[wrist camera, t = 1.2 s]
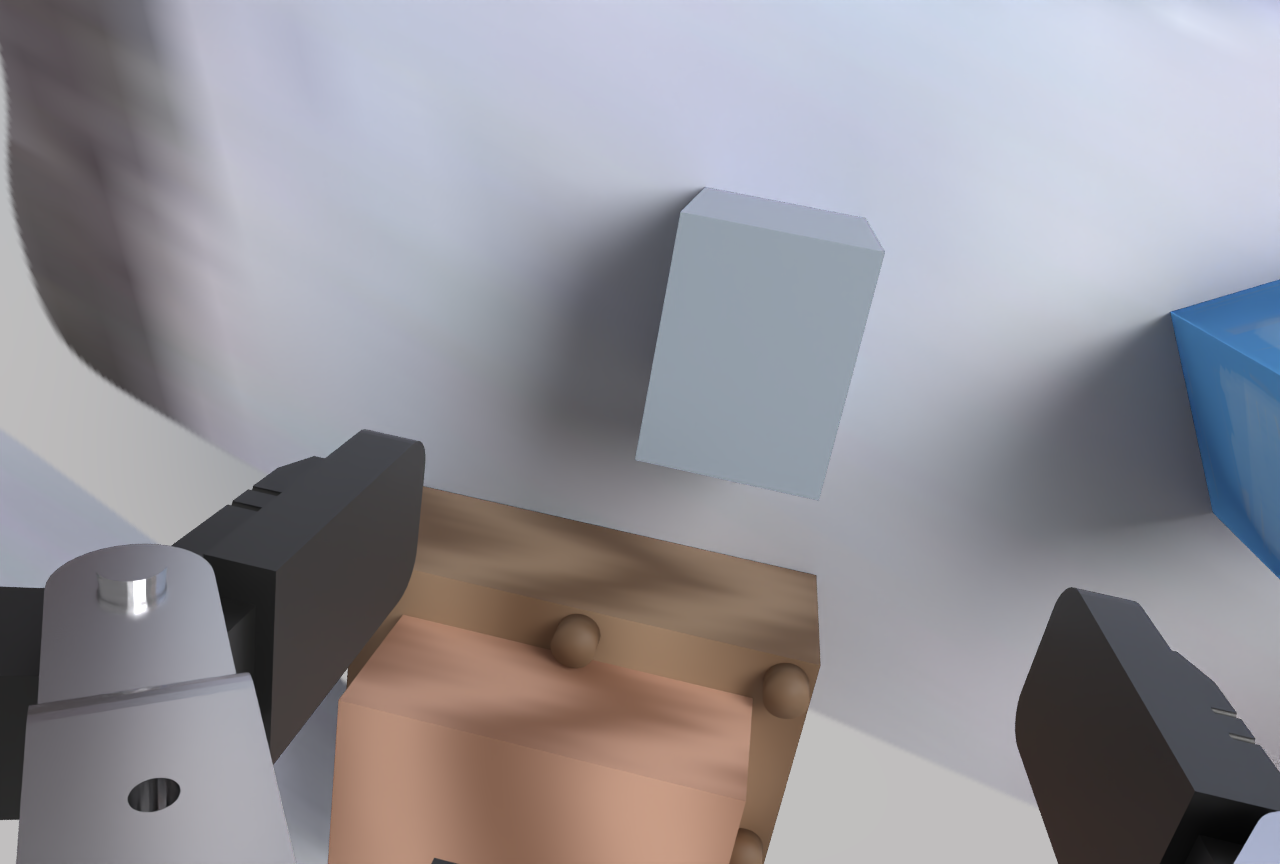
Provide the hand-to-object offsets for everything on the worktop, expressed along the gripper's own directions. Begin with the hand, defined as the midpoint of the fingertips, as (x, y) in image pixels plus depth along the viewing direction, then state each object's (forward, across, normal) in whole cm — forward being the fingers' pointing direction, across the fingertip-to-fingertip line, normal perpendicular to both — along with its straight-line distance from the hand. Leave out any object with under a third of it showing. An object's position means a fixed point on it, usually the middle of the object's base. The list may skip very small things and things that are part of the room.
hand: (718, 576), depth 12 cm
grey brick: (+16, 0, 0) cm, 16 cm away
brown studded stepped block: (+16, +3, +15) cm, 22 cm away
